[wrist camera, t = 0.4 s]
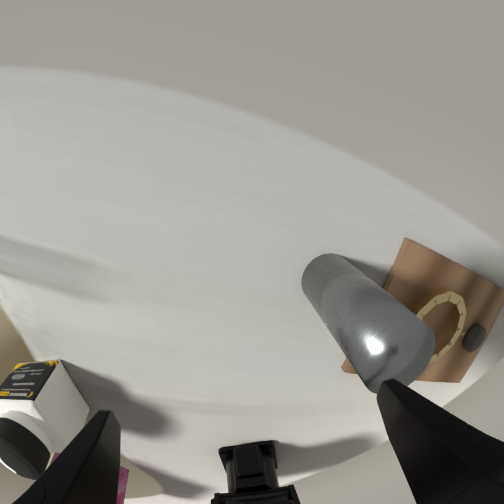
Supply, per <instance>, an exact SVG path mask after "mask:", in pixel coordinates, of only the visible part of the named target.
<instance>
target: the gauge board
mask: <svg viewBox="0 0 504 504" xmlns="http://www.w3.org/2000/svg"><path fill="white" fill-rule="evenodd" d="M442 287H446V288H448V289H450V290H452V291H453V292H455V293H457V294H459V295H460V296H462V297H463V300H464V304H465V307H466V316H465V321H464V325H463V329H462V331H461V333H460V335H459V336H458V338H457V340H456V341H455V343H454V345H453V346H452V347H451V348H450V349H449V350H448V351H447V352H446V353H445V354H444V355H443V356H442V357H441V358H439V359H438V360H436V361H434V362H431V363H429V364H428V365H427V367H426V368H425V370H424V371H423V372H422V373H421V374H420V375H419V376H418V377H417V378H416V379H415V380H418V381H432V382H451V383H460V381H461V380H462V378H463V377H464V375H465V374H466V372H467V370H468V369H469V367H470V366H471V364H472V362H473V361H474V359H475V357H476V356H477V354H478V352H479V350H480V349H481V347H482V345H483V343H484V341H485V340H486V338H487V336H488V334H489V332H490V330H491V328H492V326H493V324H494V322H495V320H496V318H497V316H498V314H499V312H500V310H501V308H502V306H503V303H504V289H502V288H500V287H499V286H497V285H495V284H493V283H492V282H490V281H488V280H486V279H485V278H483V277H481V276H479V275H477V274H475V273H474V272H472V271H470V270H468V269H466V268H464V267H463V266H461V265H459V264H457V263H455V262H453V261H451V260H449V259H447V258H445V257H443V256H441V255H439V254H437V253H436V252H434V251H432V250H430V249H428V248H425V247H423V246H421V245H419V244H417V243H415V242H413V241H411V240H409V239H407V238H404V241H403V243H402V246H401V248H400V251H399V253H398V255H397V258H396V260H395V262H394V265H393V267H392V269H391V272H390V274H389V276H388V278H387V280H386V283H385V285H384V287H383V289H384V290H385V291H386V292H388V293H389V294H390V295H391V296H393V297H394V298H395V299H396V300H398V301H399V302H400V303H401V304H403V305H404V306H405V307H406V308H407V309H409V310H410V309H411V307H413V305H414V304H415V303H416V302H417V301H419V300H420V299H421V298H422V297H423V296H424V295H425V294H426V293H427V292H429V291H432V290H435V289H439V288H442ZM453 312H454V310H453V307H452V304H451V302H450V301H446V302H443V303H440V304H437V305H435V306H434V307H433V308H432V309H431V310H430V311H429V312H428V313H427V314H426V315H425V316H423V318H422V321H423V322H424V323H426V324H427V325H428V326H429V327H430V328H431V329H432V330H433V332H434V335H435V345H436V344H437V343H438V342H439V341H441V340H442V339H443V338H444V336H445V334H446V333H447V331H448V329H449V327H450V326H451V322H452V317H453ZM341 368H342V369H343V371H344V372H346V373H353V374H358V373H357V372H356V370H355V369H354V367H353V366H352V364H351V363H350V361H349V360H348V358H347V359H346V360H345V362H344V364H343V366H342V367H341Z"/></svg>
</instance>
